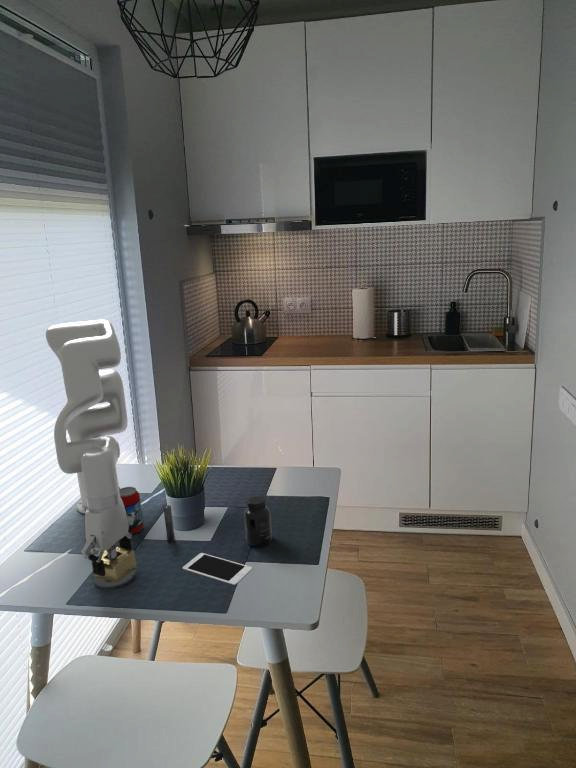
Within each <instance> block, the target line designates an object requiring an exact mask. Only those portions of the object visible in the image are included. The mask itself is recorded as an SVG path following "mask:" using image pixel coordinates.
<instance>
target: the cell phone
mask: <svg viewBox="0 0 576 768" xmlns="http://www.w3.org/2000/svg"><path fill="white" fill-rule="evenodd" d="M182 570H183V571H187V572H190V573H193V574H197V575H200V576H203V577H207V578H209V579H210V578H211V579H212V580H217V581H219V582H223V583H226V584H230V585H233V586H235V585H237V584H238V583H239V582H240V581H241V580H242V579H243V578H245V577H246V576H247V575H248V574H249V573H250V572H251V571H252V570H253V567H252V566H249V565H245V564H242V563H239V562H235V561H233V560H228V559H225V558H221V557H217V556H214V555H211V554H207V553H205V552H200V553H198V554H197V555H196V556H195V557H193V558H192V559H191V560H190V561H189V562H187V563H186V564H185V565H183V566H182Z"/></svg>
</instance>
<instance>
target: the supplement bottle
mask: <svg viewBox="0 0 576 768" xmlns="http://www.w3.org/2000/svg"><path fill="white" fill-rule="evenodd" d="M266 502H267V501H266V497H264V496H261V495H254V496H251V497H248V499H247V501H246V505H247V506H246V507H247V508H246V509H245V510H244V515H243V516H244V528H245V538H246V543H247V544H248V545H249V546H251V547H256V548H258V547H259V548H262V547H265V546H267V545H269V544H270V543H271V542H272V539H273V536H272V535H273V534H272V533H273V532H272V519H271V510H270V508H269V506H267V503H266Z"/></svg>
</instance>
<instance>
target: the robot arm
mask: <svg viewBox="0 0 576 768" xmlns="http://www.w3.org/2000/svg"><path fill="white" fill-rule="evenodd" d="M45 339H46V342H47V344H48V347H49V348H50V349H51V351H52V352H53V353H54V355H56V357H57V358H58V360H59V362H60V365H61V371H62V376H63V377H62V378H63V384H64V389H65V395H66V399H67V401H66V404H65V405H64V407H63V408H62V409H61V411H60V412H59V414H58V416H57V418H56V420H55V423H54V424H55V425H54V430H53V438H54V445H55V452H56V458H57V464H58V467H59V468H60V470H61V471H62V472H63V473H64V474H67V475H69V474H70V475H72V474H76V475H77V482H78V489H79V494H80V500H79V501H78V502H77V504H76V508H77V511H78V512H79V513H81V514H84V517H85V518H84V529H85V540H86V543H85V544H84V546H83V548H82V549H81V554H82V555H83V557H84V558H85V560H88V561H91V566H92V572H93V575H94V574H95V575H99V576H105V574H106V572H105V566H104V561H103V560H101V559H102V556H103V553H104V551H105V550H107V549H108V548H109V547H111V546H115V544H117V543H118V545H119V547H120V548H124V549H129V550H133V548H132V542H131V541H132V540H131V539H132V537H133V534H131V532H132V530H133V522H134V517H133V516H127V515H126V511H125V507H124V504H123V502H122V499H121V498H120V492H119V490H120V489H121V487H120V486H119V478H118V473H117V466H116V465H117V463H118V459H119V458H120V456H121V450H120V449H121V447H120V443H119V442H118V441H117V440H116V438H115V437H113V436H112V435H116V434H121V433H123V432H125V431H126V429H127V428H128V415H127V412H128V411H127V404H126V397H125V389H124V383H123V379H122V377H121V375H120V373H119V372H118V371H117V370H115V369H112V368H116V367H118V366H119V365H120V364H121V360H122V353H121V347H120V343H119V339H118V337H117V334H116V332H115V328H114V326H113V324H112V323H111V322H110V321H109V320H106V319H96V320H95V319H93V320H86V321H76V322H67V323H59V324H55V325H51V326H49V327H48V328H47V329H46V331H45ZM67 433H68V436H69V439H70V441H69V442H68V440H67V439H68V438H67ZM97 551H98V552H97ZM96 554H97V555H96Z"/></svg>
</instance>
